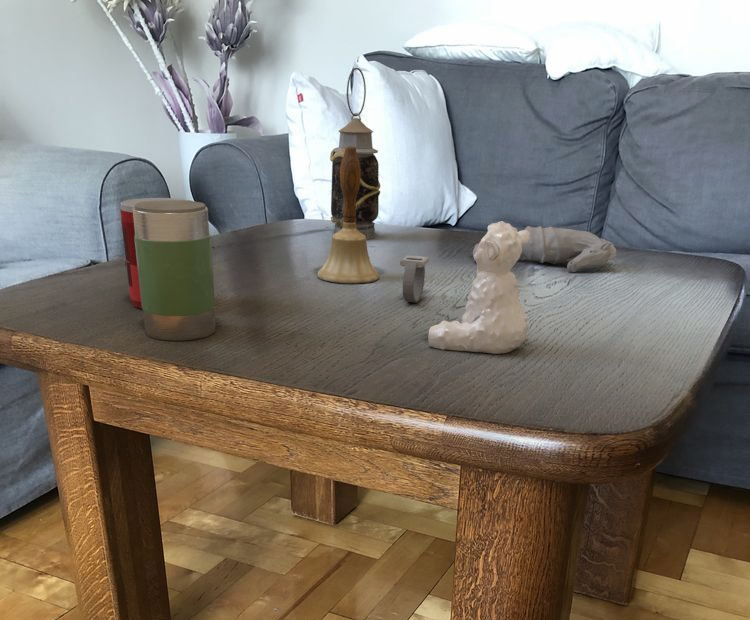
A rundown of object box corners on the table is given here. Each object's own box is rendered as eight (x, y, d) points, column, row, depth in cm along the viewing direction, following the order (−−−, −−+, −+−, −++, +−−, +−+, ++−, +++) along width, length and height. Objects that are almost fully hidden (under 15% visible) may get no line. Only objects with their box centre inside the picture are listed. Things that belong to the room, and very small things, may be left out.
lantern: (344, 230, 141) (345, 67, 130) (387, 235, 139) (392, 68, 127) (321, 238, 134) (321, 66, 123) (366, 243, 131) (370, 67, 120)
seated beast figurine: (475, 328, 87) (485, 210, 82) (547, 344, 83) (562, 220, 77) (422, 346, 81) (429, 219, 75) (497, 365, 76) (510, 231, 71)
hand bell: (391, 276, 109) (396, 147, 102) (354, 287, 103) (355, 150, 96) (343, 268, 114) (343, 143, 106) (304, 277, 108) (302, 145, 100)
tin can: (129, 331, 83) (115, 204, 77) (184, 318, 88) (174, 197, 82) (176, 345, 79) (164, 212, 73) (231, 330, 84) (224, 205, 79)
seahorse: (479, 264, 113) (624, 245, 112) (467, 222, 120) (603, 204, 120) (479, 296, 116) (620, 278, 116) (468, 253, 124) (600, 236, 124)
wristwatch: (407, 294, 100) (409, 252, 98) (429, 296, 100) (431, 254, 98) (395, 306, 95) (396, 262, 93) (418, 308, 94) (420, 264, 92)
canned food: (213, 306, 93) (206, 204, 88) (145, 315, 89) (134, 208, 84) (186, 292, 98) (179, 196, 93) (121, 300, 94) (109, 199, 89)
